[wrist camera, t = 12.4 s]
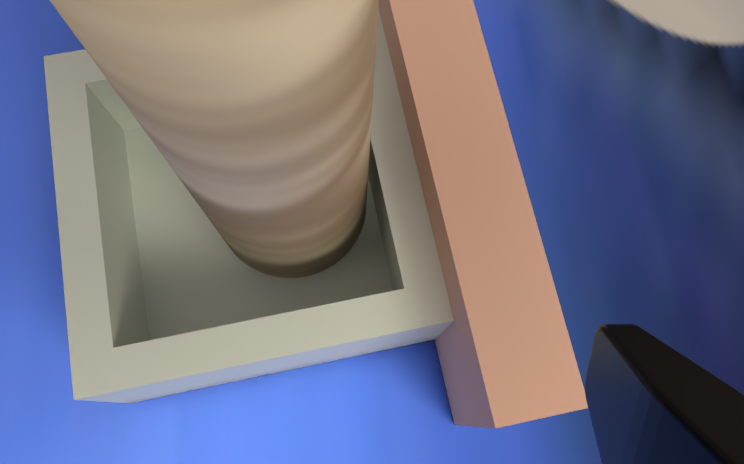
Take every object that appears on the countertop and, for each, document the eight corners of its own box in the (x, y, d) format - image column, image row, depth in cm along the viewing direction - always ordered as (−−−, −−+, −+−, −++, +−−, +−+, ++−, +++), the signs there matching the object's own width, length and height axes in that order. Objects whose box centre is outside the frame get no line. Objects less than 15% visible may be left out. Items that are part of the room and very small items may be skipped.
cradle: (435, 339, 20) (453, 320, 16) (131, 403, 19) (73, 399, 15) (373, 72, 22) (376, -1, 18) (100, 120, 21) (43, 56, 18)
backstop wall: (520, 410, 19) (589, 407, 14) (454, 424, 19) (495, 428, 14) (414, 1, 23) (433, -138, 17) (358, 10, 23) (358, -126, 17)
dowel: (328, 302, 19) (281, 78, 6) (190, 241, 19) (-106, -81, 7) (389, 170, 20) (449, -238, 8) (258, 115, 20) (108, -359, 8)
